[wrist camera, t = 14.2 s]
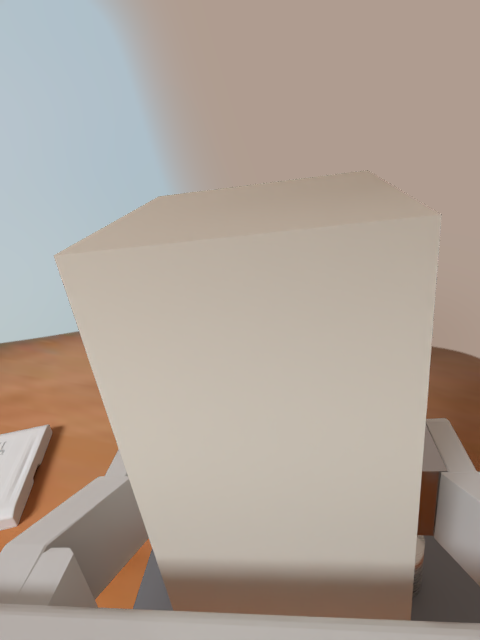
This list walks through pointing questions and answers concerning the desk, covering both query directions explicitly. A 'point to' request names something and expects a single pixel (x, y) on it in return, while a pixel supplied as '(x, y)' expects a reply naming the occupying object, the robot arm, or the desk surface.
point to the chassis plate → (427, 600)
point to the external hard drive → (19, 470)
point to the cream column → (269, 387)
